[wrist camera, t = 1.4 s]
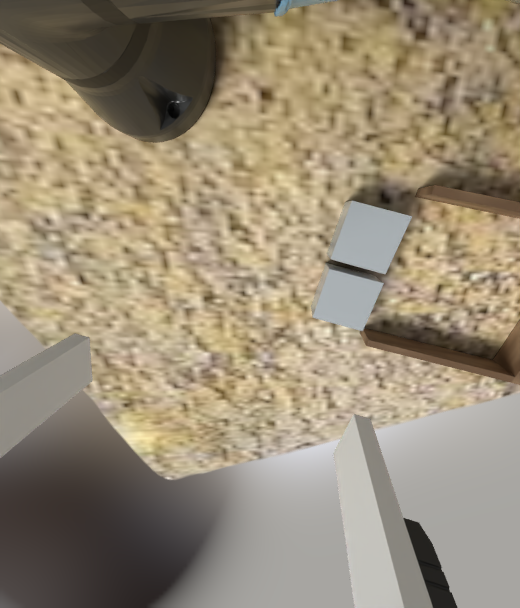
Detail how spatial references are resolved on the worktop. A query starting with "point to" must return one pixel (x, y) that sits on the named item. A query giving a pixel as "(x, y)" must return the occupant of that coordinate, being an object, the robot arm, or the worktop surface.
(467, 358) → the frame
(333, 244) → the light grey square block
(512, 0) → the vase
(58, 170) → the worktop surface
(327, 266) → the tile
